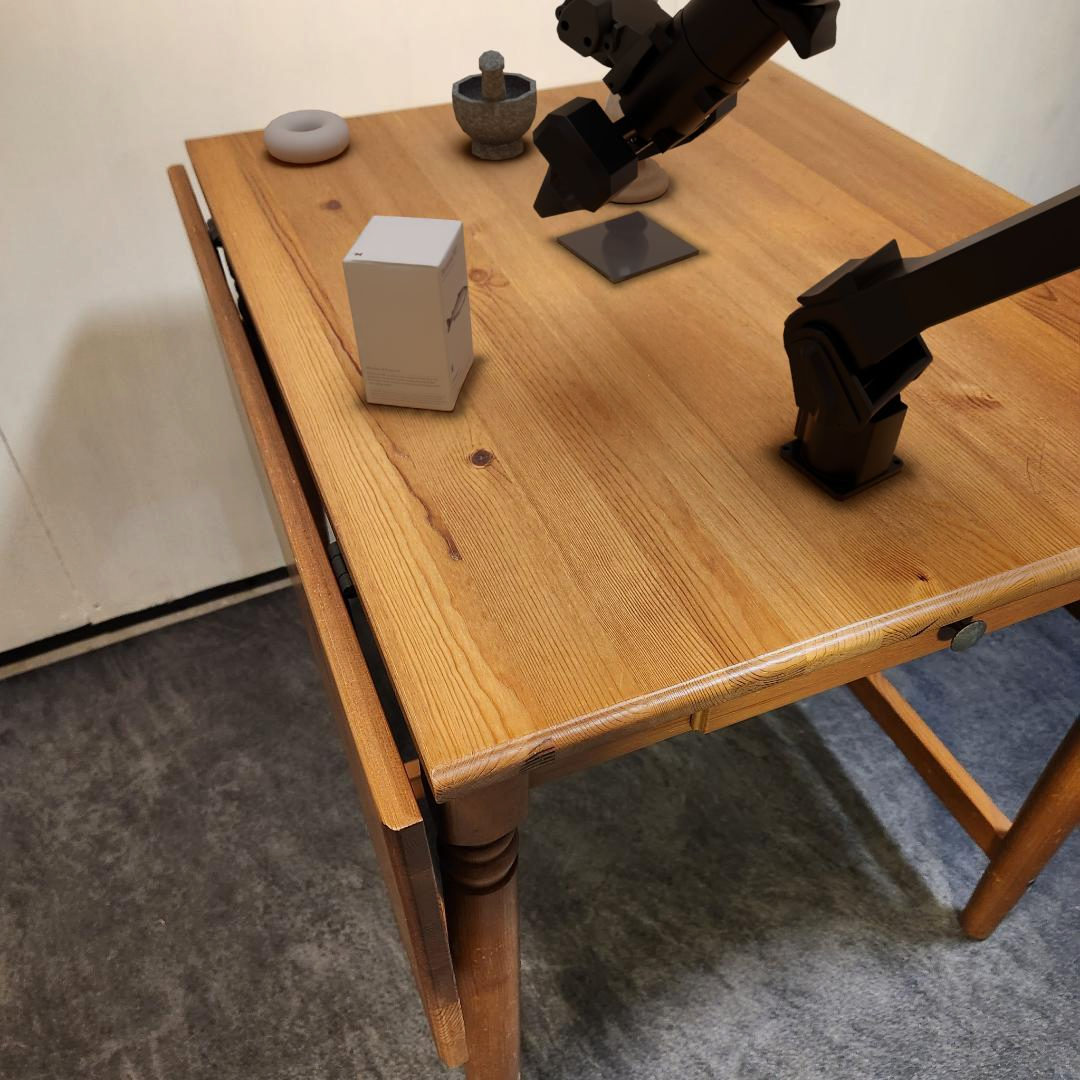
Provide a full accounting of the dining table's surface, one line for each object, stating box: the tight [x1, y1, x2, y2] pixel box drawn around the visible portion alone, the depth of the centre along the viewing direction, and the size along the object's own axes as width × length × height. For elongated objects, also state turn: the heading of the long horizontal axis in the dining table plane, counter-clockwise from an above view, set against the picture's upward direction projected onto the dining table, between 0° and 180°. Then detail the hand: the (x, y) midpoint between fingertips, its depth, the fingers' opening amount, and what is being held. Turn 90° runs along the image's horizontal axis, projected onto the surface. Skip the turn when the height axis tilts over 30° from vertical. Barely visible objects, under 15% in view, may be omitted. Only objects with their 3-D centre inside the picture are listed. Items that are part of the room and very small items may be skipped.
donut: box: [262, 109, 351, 164], centre depth 110 cm, size 10×4×10 cm
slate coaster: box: [556, 210, 700, 284], centre depth 92 cm, size 10×10×1 cm
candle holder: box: [604, 0, 670, 204], centre depth 95 cm, size 9×9×20 cm
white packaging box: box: [341, 214, 475, 412], centre depth 73 cm, size 7×7×13 cm
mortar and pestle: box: [451, 49, 538, 161], centre depth 105 cm, size 11×9×12 cm
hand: (573, 188), depth 70 cm, fingers open, 9 cm apart
